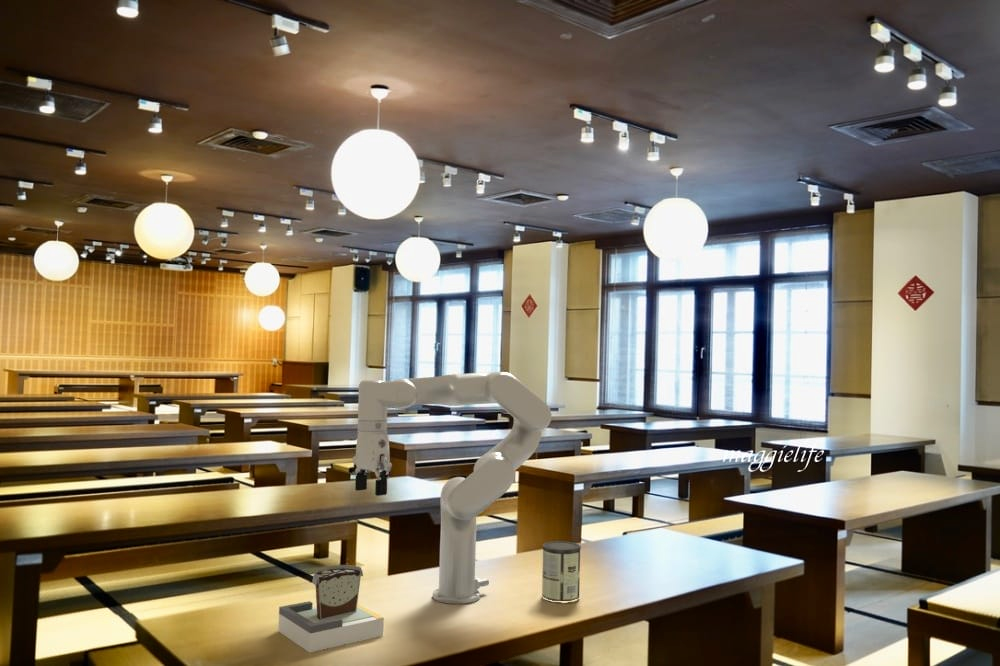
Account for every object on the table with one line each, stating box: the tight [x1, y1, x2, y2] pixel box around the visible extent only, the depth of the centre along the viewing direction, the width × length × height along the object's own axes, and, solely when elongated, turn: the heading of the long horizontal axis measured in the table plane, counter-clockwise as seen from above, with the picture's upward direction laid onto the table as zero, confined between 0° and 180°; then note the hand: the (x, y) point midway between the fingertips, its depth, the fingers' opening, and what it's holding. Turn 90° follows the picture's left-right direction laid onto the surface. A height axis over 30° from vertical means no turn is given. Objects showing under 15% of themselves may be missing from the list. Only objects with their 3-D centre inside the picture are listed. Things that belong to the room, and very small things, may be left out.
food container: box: [311, 564, 364, 620], centre depth 178 cm, size 12×6×10 cm, turn 133°
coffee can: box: [541, 540, 582, 601], centre depth 209 cm, size 10×10×14 cm
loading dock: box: [277, 600, 385, 654], centre depth 176 cm, size 18×16×6 cm
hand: (370, 492), depth 203 cm, fingers open, 9 cm apart
